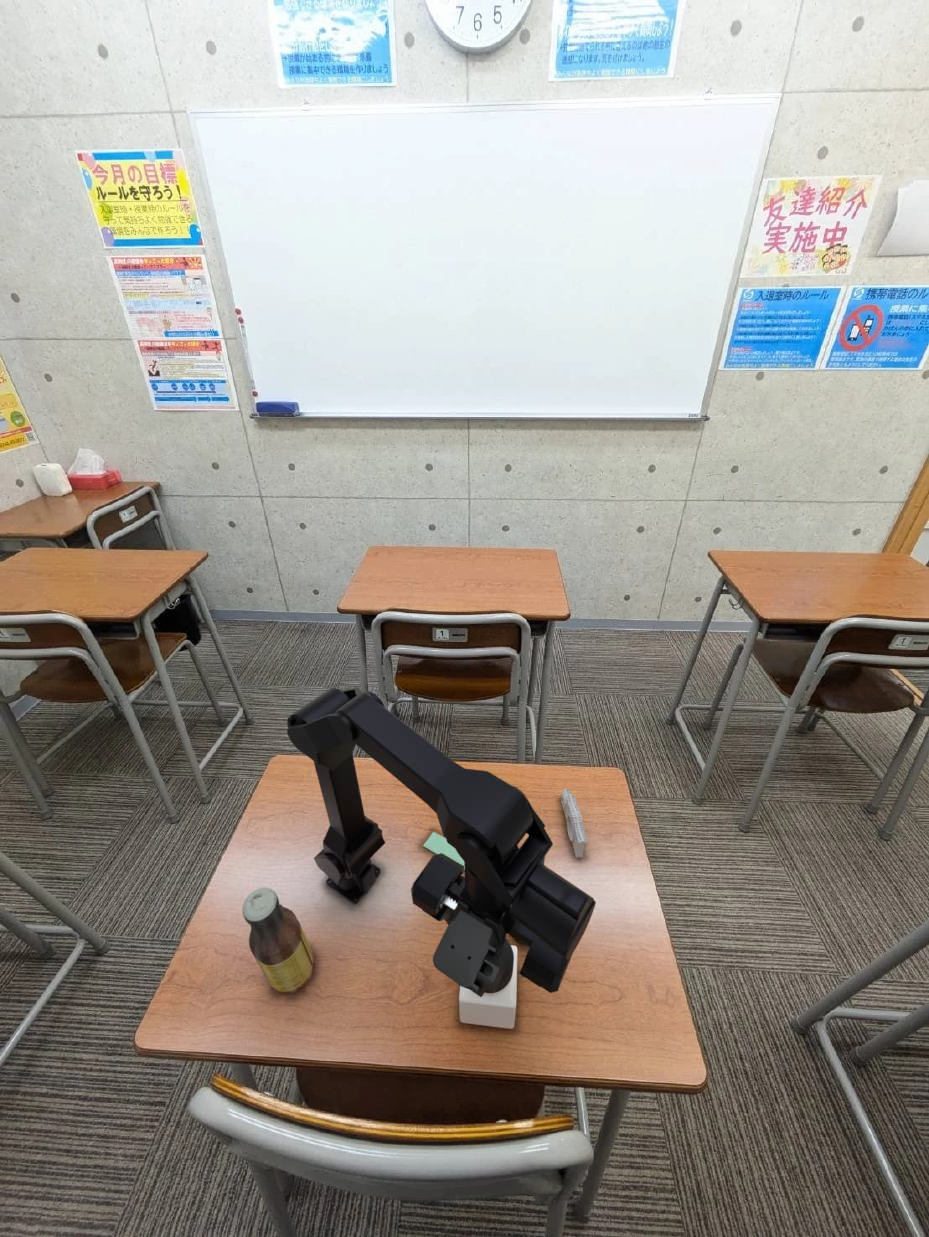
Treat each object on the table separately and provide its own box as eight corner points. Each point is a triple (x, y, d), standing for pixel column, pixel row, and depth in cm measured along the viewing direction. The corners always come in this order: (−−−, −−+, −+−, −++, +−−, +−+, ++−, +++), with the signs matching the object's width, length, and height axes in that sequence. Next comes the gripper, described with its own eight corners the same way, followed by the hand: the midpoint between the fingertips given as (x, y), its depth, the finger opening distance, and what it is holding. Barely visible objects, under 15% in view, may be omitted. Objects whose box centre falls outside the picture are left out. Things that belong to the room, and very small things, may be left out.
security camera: (515, 969, 73) (519, 926, 66) (513, 1030, 67) (518, 990, 61) (465, 963, 74) (464, 920, 67) (459, 1023, 68) (457, 983, 61)
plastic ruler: (423, 846, 89) (423, 845, 89) (433, 832, 91) (433, 831, 91) (499, 891, 82) (499, 890, 82) (509, 874, 85) (509, 873, 84)
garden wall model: (559, 799, 96) (562, 778, 93) (569, 799, 97) (572, 778, 93) (574, 860, 86) (578, 839, 83) (585, 859, 87) (589, 838, 83)
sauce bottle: (278, 947, 76) (245, 872, 65) (321, 948, 76) (294, 873, 65) (263, 999, 70) (223, 926, 59) (308, 1000, 70) (276, 928, 59)
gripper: (374, 900, 53) (388, 969, 62) (540, 1012, 45) (530, 1074, 53) (435, 818, 61) (440, 890, 69) (586, 901, 53) (571, 971, 61)
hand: (489, 950), depth 63 cm, fingers open, 9 cm apart
